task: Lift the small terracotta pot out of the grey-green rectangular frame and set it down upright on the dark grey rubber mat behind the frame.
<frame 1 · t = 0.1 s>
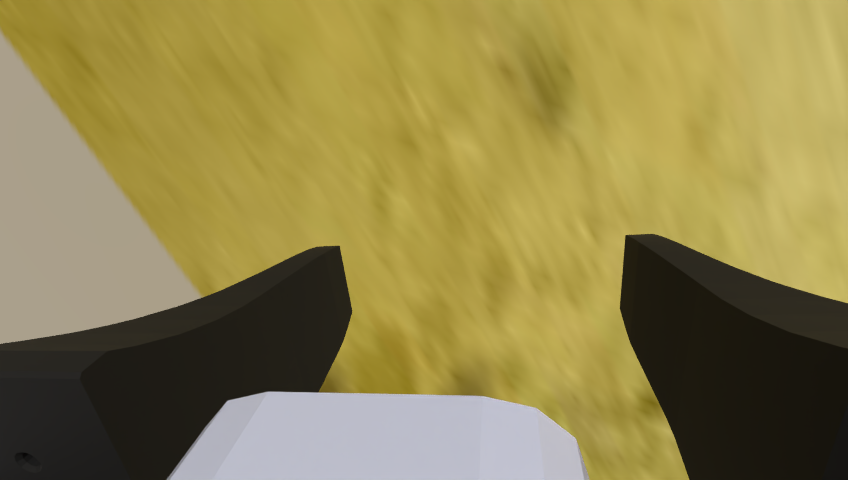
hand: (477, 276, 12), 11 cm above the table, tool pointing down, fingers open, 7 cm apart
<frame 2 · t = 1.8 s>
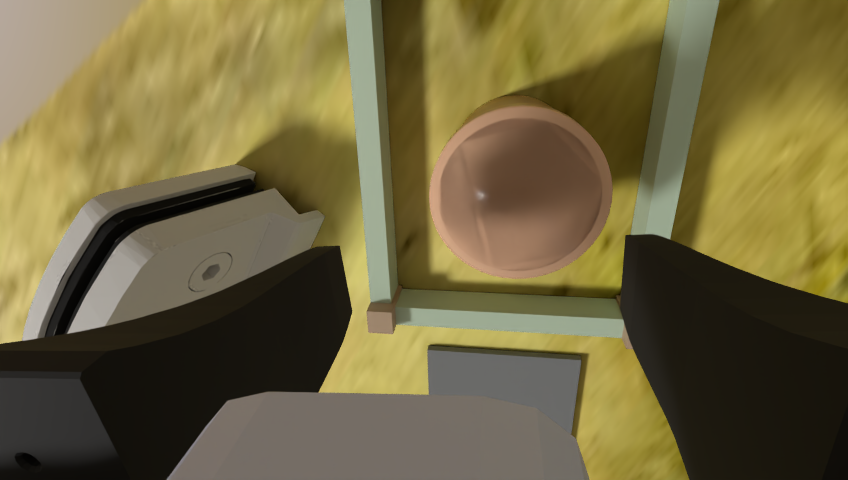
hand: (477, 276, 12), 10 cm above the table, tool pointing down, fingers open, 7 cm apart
hinge: (215, 292, 26), on the table
grey-green rectangular frame: (512, 156, 20), on the table
pot: (512, 156, 20), resting in grey-green rectangular frame
mat: (499, 400, 26), on the table
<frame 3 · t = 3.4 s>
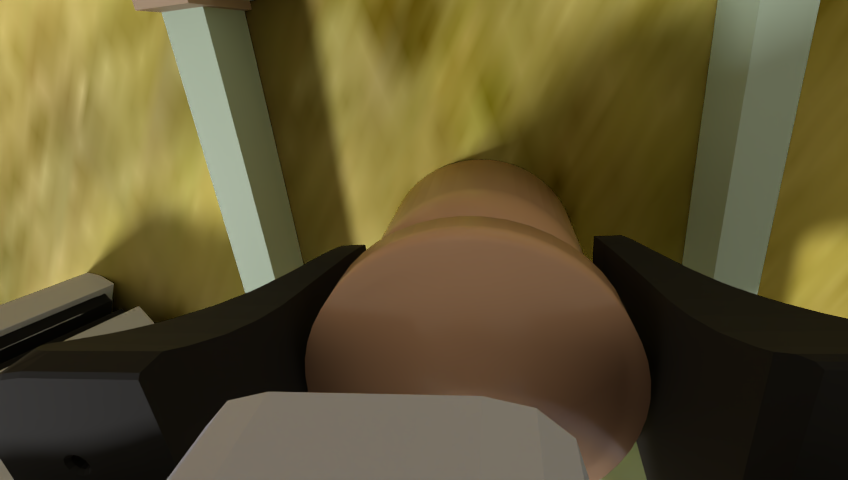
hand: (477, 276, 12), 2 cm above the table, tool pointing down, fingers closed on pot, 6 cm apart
hinge: (104, 427, 19), on the table
grey-green rectangular frame: (479, 248, 13), on the table
pot: (479, 247, 13), resting in grey-green rectangular frame, touching gripper
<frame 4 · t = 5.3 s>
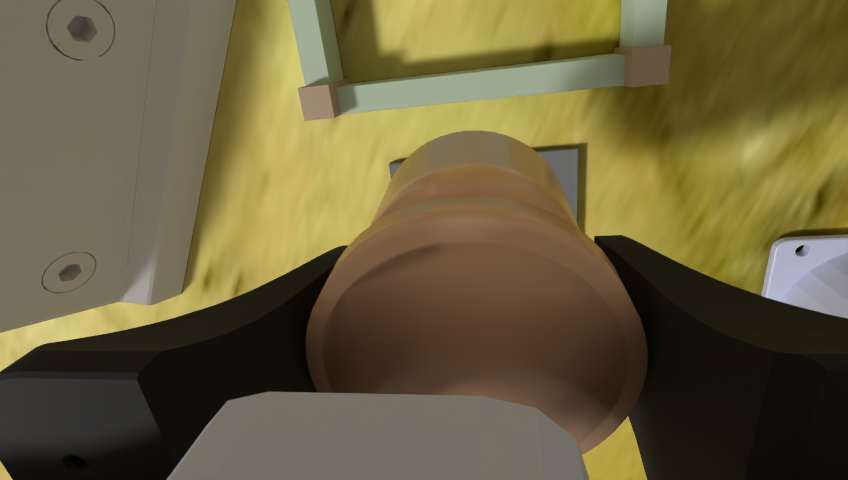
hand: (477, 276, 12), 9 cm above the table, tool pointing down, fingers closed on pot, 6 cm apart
hinge: (134, 131, 22), on the table
pot: (472, 220, 13), point 7 cm above the table, touching gripper
mat: (485, 229, 21), on the table
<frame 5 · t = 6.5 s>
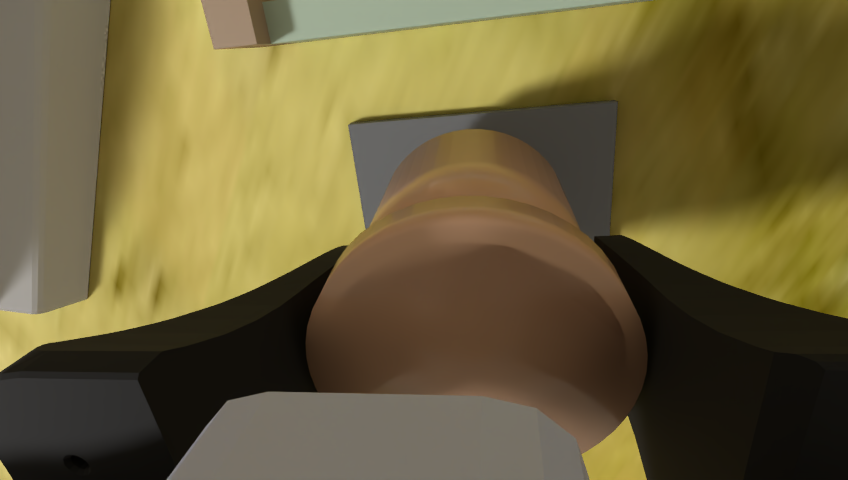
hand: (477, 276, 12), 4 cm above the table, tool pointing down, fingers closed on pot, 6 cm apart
hinge: (7, 79, 16), on the table
pot: (472, 218, 13), point 2 cm above the table, tilted 6°, touching gripper
mat: (482, 218, 15), on the table
when the fingers open (3 cm above the table, at t = 7.4 s): pot stays where it is, resting on mat.
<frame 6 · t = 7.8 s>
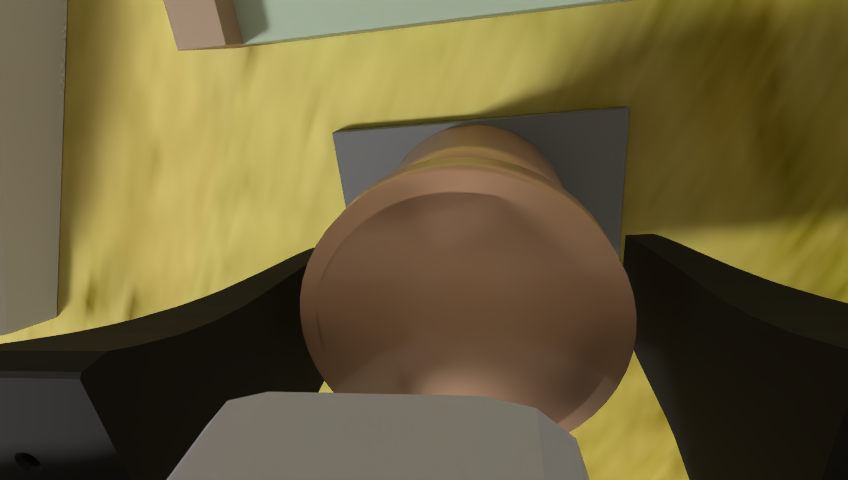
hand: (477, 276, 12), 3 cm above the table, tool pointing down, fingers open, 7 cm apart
pot: (473, 214, 13), resting on mat
mat: (480, 234, 14), on the table
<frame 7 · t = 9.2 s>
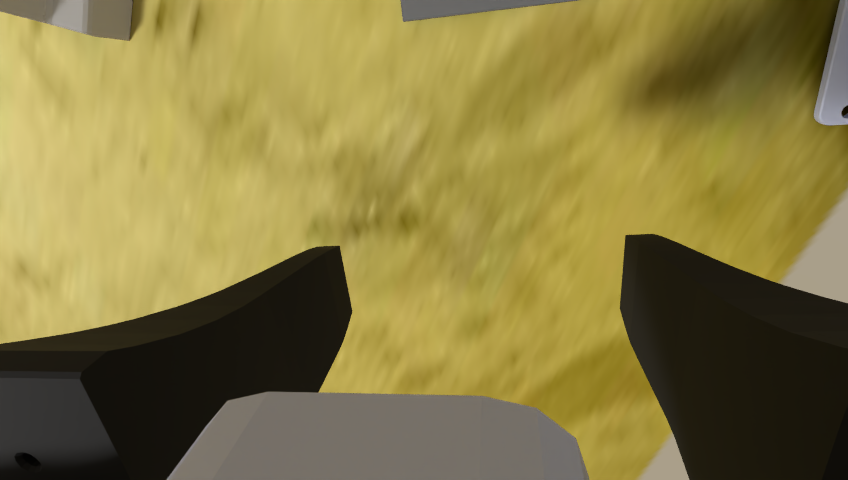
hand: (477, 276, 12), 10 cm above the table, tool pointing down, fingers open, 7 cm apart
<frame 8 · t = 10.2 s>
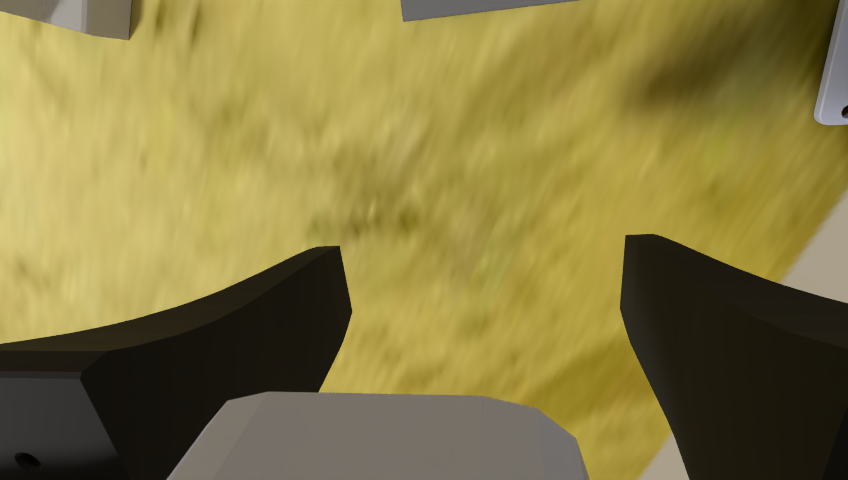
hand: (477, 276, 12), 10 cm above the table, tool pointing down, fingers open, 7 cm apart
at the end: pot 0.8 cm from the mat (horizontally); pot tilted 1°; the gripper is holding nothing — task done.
